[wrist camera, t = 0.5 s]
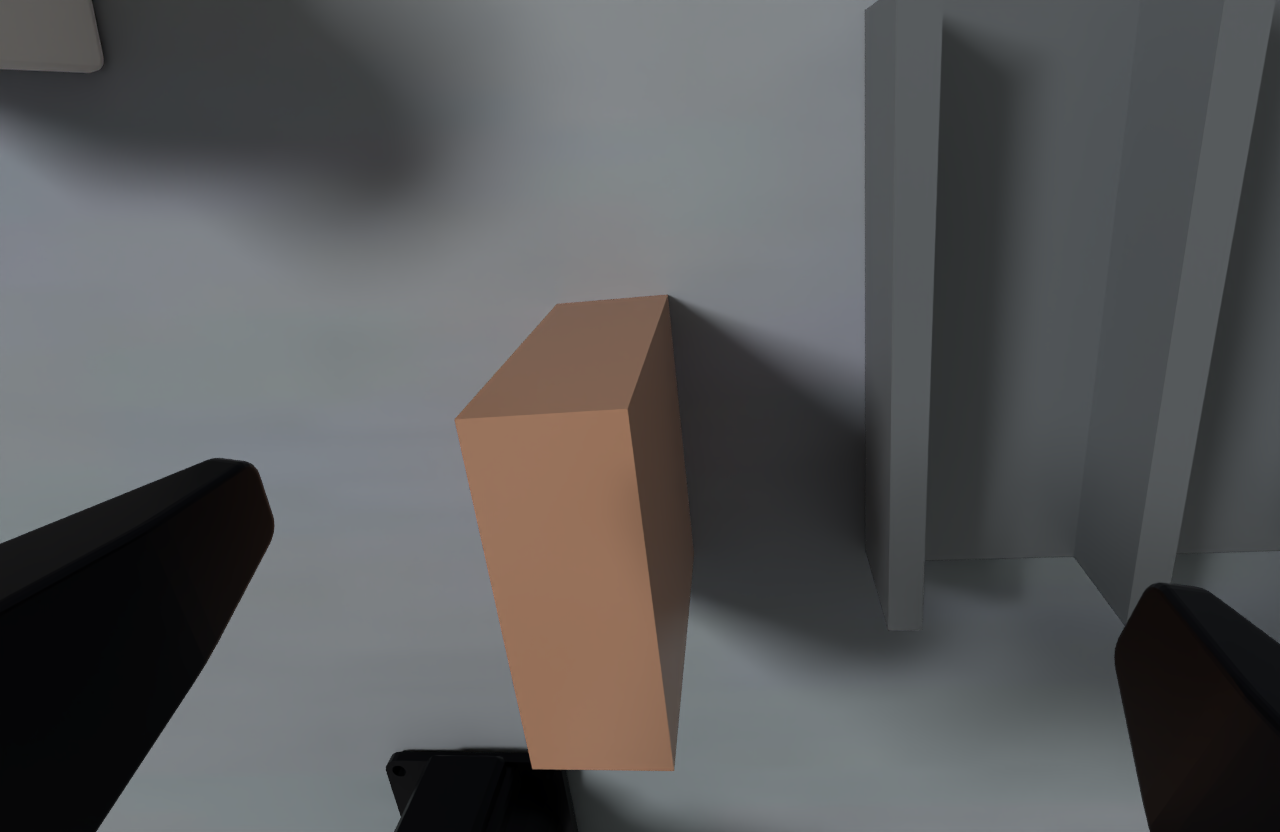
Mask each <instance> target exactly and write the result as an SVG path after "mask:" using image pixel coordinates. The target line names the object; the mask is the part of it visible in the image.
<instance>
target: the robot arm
mask: <svg viewBox="0 0 1280 832" xmlns="http://www.w3.org/2000/svg"><path fill="white" fill-rule="evenodd" d="M273 533H274V518H273V514H272V511H271V508H270V505H269V502H268V499H267V496H266V493H265V490H264V486H263V483H262V480H261V477H260V474H259V472H258V470H257V469H256V468H255V467H254V465H253V464H251V463H249V462H246V461H240V460H232V459H225V458H213V459H209V460H206V461H204V462H201V463H199V464H196V465H194V466H191V467H189V468H186V469H184V470H181V471H179V472H177V473H174V474H172V475H169V476H167V477H164V478H162V479H159V480H157V481H154V482H152V483H149V484H147V485H144V486H142V487H139V488H137V489H134V490H132V491H130V492H127V493H125V494H122V495H120V496H117V497H115V498H112V499H110V500H107V501H105V502H102V503H100V504H97V505H95V506H92V507H90V508H88V509H85V510H83V511H80V512H78V513H75V514H73V515H70V516H68V517H65V518H63V519H60V520H58V521H55V522H53V523H50V524H48V525H45V526H43V527H41V528H38V529H36V530H33V531H31V532H28V533H26V534H23V535H21V536H18V537H16V538H13V539H11V540H8V541H6V542H3V543H1V544H0V832H96V831H97V830H98V828H99V827H100V825H101V824H102V822H103V821H104V819H105V818H106V816H107V815H108V813H109V812H110V810H111V808H112V807H113V805H114V804H115V802H116V801H117V799H118V798H119V796H120V795H121V793H122V792H123V790H124V789H125V787H126V786H127V784H128V783H129V781H130V780H131V778H132V777H133V775H134V773H135V772H136V770H137V769H138V767H139V766H140V764H141V763H142V761H143V760H144V758H145V757H146V755H147V754H148V752H149V751H150V749H151V748H152V746H153V745H154V743H155V742H156V740H157V739H158V737H159V735H160V734H161V732H162V731H163V729H164V728H165V726H166V725H167V723H168V722H169V720H170V719H171V717H172V716H173V714H174V713H175V711H176V710H177V708H178V707H179V705H180V704H181V702H182V700H183V699H184V697H185V696H186V694H187V693H188V691H189V690H190V688H191V687H192V685H193V684H194V682H195V681H196V679H197V677H198V676H199V674H200V673H201V671H202V669H203V668H204V666H205V665H206V663H207V661H208V659H209V658H210V656H211V654H212V652H213V650H214V649H215V647H216V645H217V643H218V642H219V640H220V638H221V636H222V634H223V632H224V630H225V628H226V626H227V624H228V622H229V621H230V619H231V617H232V615H233V613H234V611H235V609H236V607H237V605H238V603H239V602H240V600H241V598H242V596H243V594H244V592H245V590H246V588H247V586H248V584H249V583H250V581H251V579H252V577H253V575H254V573H255V571H256V569H257V567H258V565H259V564H260V562H261V560H262V558H263V556H264V554H265V552H266V550H267V548H268V546H269V545H270V542H271V540H272V537H273ZM1114 658H1115V669H1116V674H1117V679H1118V684H1119V689H1120V694H1121V699H1122V703H1123V708H1124V713H1125V718H1126V723H1127V728H1128V733H1129V738H1130V743H1131V748H1132V752H1133V757H1134V762H1135V767H1136V772H1137V777H1138V782H1139V787H1140V792H1141V796H1142V801H1143V805H1144V810H1145V814H1146V818H1147V822H1148V826H1149V830H1150V832H1280V644H1279V643H1278V642H1276V641H1275V640H1274V639H1272V638H1271V637H1270V636H1268V635H1267V634H1266V633H1264V632H1263V631H1262V630H1260V629H1259V628H1258V627H1256V626H1255V625H1254V624H1252V623H1251V622H1250V621H1248V620H1247V619H1246V618H1244V617H1243V616H1242V615H1240V614H1239V613H1238V612H1236V611H1235V610H1234V609H1232V608H1231V607H1230V606H1228V605H1227V604H1225V603H1224V602H1223V601H1221V600H1220V599H1219V598H1217V597H1216V596H1215V595H1213V594H1212V593H1210V592H1209V591H1207V590H1205V589H1202V588H1199V587H1194V586H1186V585H1179V584H1171V583H1163V582H1159V583H1154V584H1152V585H1150V586H1149V587H1147V588H1146V589H1145V591H1144V592H1143V594H1142V595H1141V597H1140V599H1139V601H1138V603H1137V605H1136V607H1135V608H1134V610H1133V612H1132V614H1131V616H1130V618H1129V620H1128V622H1127V623H1126V625H1125V627H1124V629H1123V631H1122V633H1121V635H1120V636H1119V638H1118V641H1117V644H1116V648H1115V656H1114ZM386 772H387V775H388V778H389V781H390V784H391V787H392V791H393V794H394V797H395V800H396V803H397V806H398V809H399V812H400V816H401V818H400V820H399V823H398V825H397V827H396V829H395V831H394V832H578V829H577V824H576V819H575V814H574V809H573V804H572V799H571V794H570V789H569V784H568V779H567V774H566V770H559V769H532V765H531V761H530V756H529V753H476V752H396V753H394V754H393V755H392V756H391V758H390V760H389V762H388V764H387V766H386Z"/></svg>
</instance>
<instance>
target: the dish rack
mask: <svg viewBox="0 0 1280 832" xmlns="http://www.w3.org/2000/svg"><path fill="white" fill-rule="evenodd" d="M865 482H866V554H867V557H868V561H869V565H870V568H871V572H872V575H873V579H874V582H875V586H876V589H877V593H878V596H879V600H880V603H881V607H882V610H883V614H884V617H885V621H886V624H887V628H888V631H900V630H922V620H923V590H924V561H933V560H969V559H1005V558H1041V557H1074V558H1075V559H1076V560H1077V562H1078V563H1079V564H1080V566H1081V567H1082V569H1083V570H1084V571H1085V573H1086V574H1087V575H1088V577H1089V578H1090V579H1091V581H1092V582H1093V583H1094V585H1095V586H1096V587H1097V589H1098V590H1099V592H1100V593H1101V594H1102V596H1103V597H1104V598H1105V600H1106V601H1107V602H1108V604H1109V605H1110V606H1111V608H1112V609H1113V611H1114V612H1115V613H1116V615H1117V616H1118V617H1119V619H1120V620H1121V621H1122V623H1123V624H1124V625H1126V623H1127V622H1128V620H1129V618H1130V616H1131V614H1132V612H1133V610H1134V608H1135V607H1136V605H1137V603H1138V601H1139V599H1140V597H1141V595H1142V594H1143V592H1144V591H1145V589H1146V588H1147V587H1149V586H1150V585H1152V584H1154V583H1159V582H1163V583H1171V579H1172V574H1173V568H1174V563H1175V557H1176V554H1185V553H1221V552H1257V551H1280V0H878V1H877V2H876V3H874V4H873V5H872V6H870V7H869V8H867V9H866V10H865Z"/></svg>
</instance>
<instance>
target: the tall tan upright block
mask: <svg viewBox="0 0 1280 832" xmlns="http://www.w3.org/2000/svg"><path fill="white" fill-rule="evenodd" d="M455 424H456V428H457V433H458V437H459V442H460V446H461V451H462V455H463V460H464V464H465V469H466V473H467V478H468V482H469V487H470V491H471V496H472V500H473V505H474V509H475V514H476V518H477V523H478V527H479V532H480V536H481V541H482V545H483V550H484V554H485V559H486V563H487V568H488V572H489V576H490V581H491V585H492V590H493V594H494V599H495V603H496V608H497V612H498V617H499V621H500V626H501V630H502V635H503V639H504V644H505V648H506V653H507V657H508V662H509V666H510V671H511V675H512V680H513V684H514V689H515V693H516V698H517V702H518V707H519V711H520V716H521V720H522V725H523V729H524V734H525V738H526V743H527V747H528V752H529V756H530V761H531V765H532V769H559V770H639V771H674V767H675V756H676V745H677V734H678V724H679V713H680V702H681V691H682V680H683V670H684V659H685V648H686V637H687V627H688V616H689V605H690V594H691V584H692V573H693V562H694V548H693V538H692V528H691V519H690V509H689V499H688V489H687V479H686V469H685V459H684V449H683V439H682V429H681V419H680V409H679V399H678V389H677V380H676V370H675V360H674V350H673V340H672V330H671V320H670V310H669V300H668V295H657V296H645V297H633V298H621V299H610V300H598V301H586V302H574V303H562V304H556V306H555V307H554V308H553V309H552V310H551V311H550V312H549V313H548V315H547V316H546V317H545V318H544V319H543V320H542V321H541V322H540V324H539V325H538V326H537V327H536V328H535V329H534V330H533V331H532V333H531V334H530V335H529V336H528V337H527V338H526V339H525V341H524V342H523V343H522V344H521V345H520V346H519V347H518V348H517V350H516V351H515V352H514V353H513V354H512V355H511V356H510V357H509V359H508V360H507V361H506V362H505V363H504V364H503V365H502V366H501V368H500V369H499V370H498V371H497V372H496V373H495V374H494V375H493V377H492V378H491V379H490V380H489V381H488V382H487V383H486V384H485V386H484V387H483V388H482V389H481V390H480V391H479V392H478V394H477V395H476V396H475V397H474V398H473V399H472V400H471V401H470V403H469V404H468V405H467V406H466V407H465V408H464V409H463V410H462V412H461V413H460V414H459V415H458V416H457V417H456V418H455Z"/></svg>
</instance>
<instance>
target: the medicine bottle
mask: <svg viewBox="0 0 1280 832" xmlns="http://www.w3.org/2000/svg"><path fill="white" fill-rule="evenodd" d="M103 63H104V57H103V52H102V48H101V43H100V38H99V33H98V28H97V23H96V18H95V14H94V9H93V4H92V0H0V69H8V70H30V71H53V72H75V73H92V72H95V71H98V70H100V69H101V68H102V66H103Z"/></svg>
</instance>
